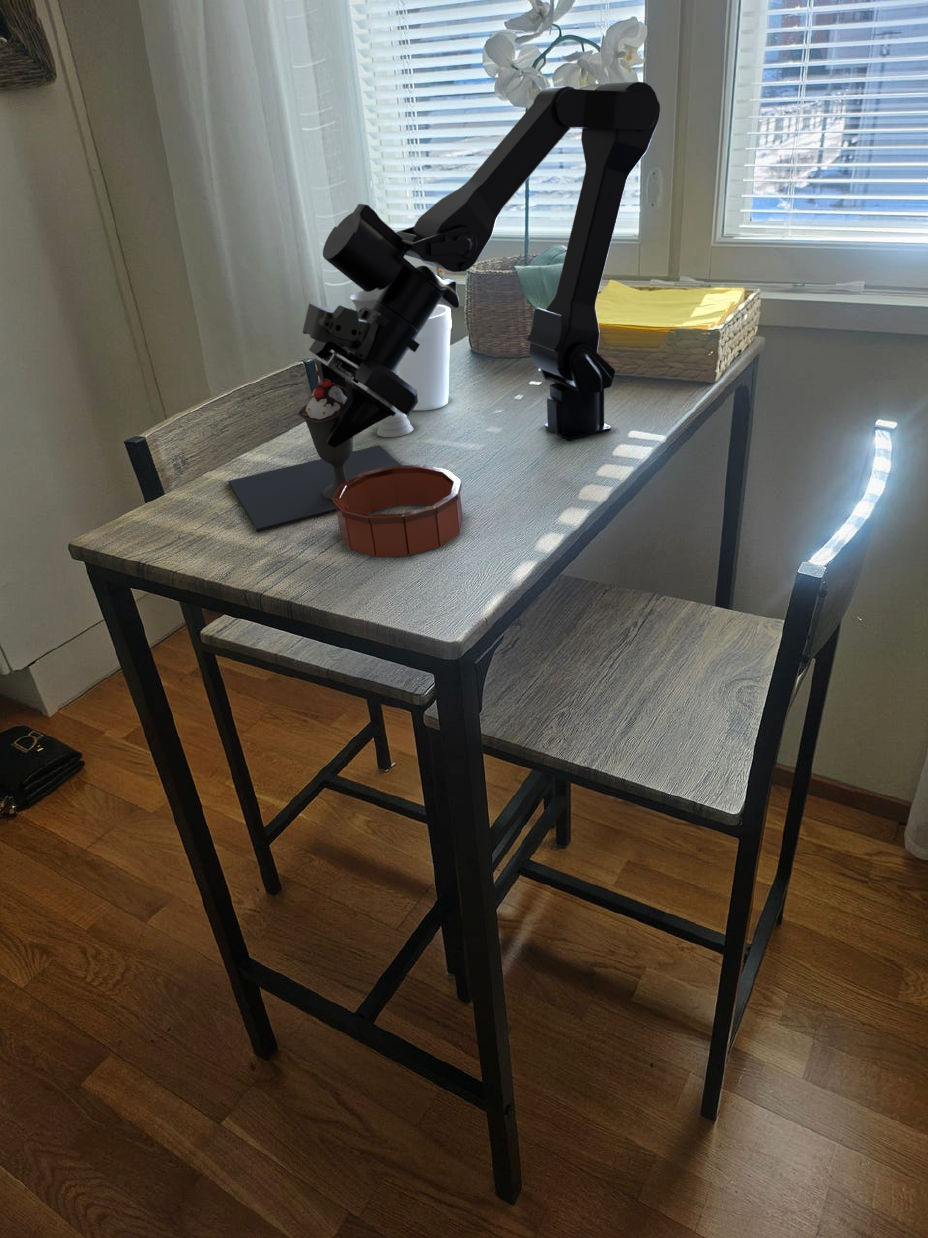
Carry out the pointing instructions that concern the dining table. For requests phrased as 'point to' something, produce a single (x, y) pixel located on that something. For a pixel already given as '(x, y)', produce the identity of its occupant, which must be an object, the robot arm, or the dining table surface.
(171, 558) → the dining table surface
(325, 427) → the sundae
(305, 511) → the placemat
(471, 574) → the dining table surface
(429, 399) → the foam cup
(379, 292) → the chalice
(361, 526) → the serving tub
